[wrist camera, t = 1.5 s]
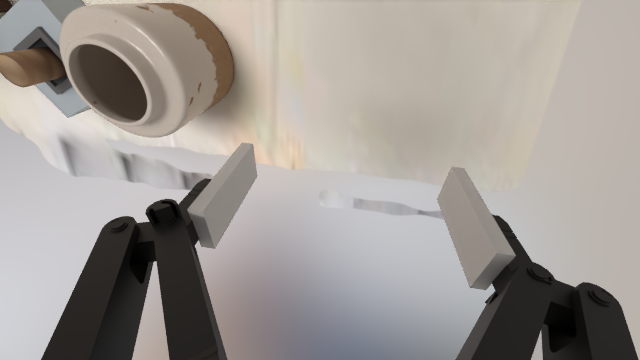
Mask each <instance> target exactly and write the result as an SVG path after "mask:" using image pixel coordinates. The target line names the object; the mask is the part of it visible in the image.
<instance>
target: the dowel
mask: <svg viewBox="0 0 640 360" xmlns="http://www.w3.org/2000/svg"><path fill="white" fill-rule="evenodd" d="M0 73H1V74H2V75H3V76H4V77H5V78H6V79H8V80H9V81H10V82H12V83H13V84H15V85H17V86H20V87H28V86H31V85H35V84H39V83H43V82H47V81H51V80H55V79H59V78H62V77H66V76H67V73H66V70H65V66H64V64H63V62H62V60H61V59H60V58H59V57H58V56H57V55H56V54H55V53H54V52H53V51H52V49H51V48H50V47H49V46H46V47H39V48H32V49H25V50H18V51H11V52H4V53H0Z"/></svg>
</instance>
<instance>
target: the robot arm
mask: <svg viewBox="0 0 640 360" xmlns="http://www.w3.org/2000/svg"><path fill="white" fill-rule="evenodd" d="M256 178H257V171H256V163H255V155H254V147H253V144H250V143H241V145H240V146H239V147H238V148H237V150H236V151H235V152H234V153H233V154H232V156H231V157H230V158H229V159H228V160H227V162H226V163H225V164H224V165H223V167H222V168H221V169H220V170H219V172H218V173H217V174H216V175H215V176H214V178H213V179H204V180H202V181H200V182H199V183H197V184H196V185H195V187H194V188H193V189H192V190H191V191H190V192H189V193H188V195H187V196H186V197H185V198H184V199H183V200H182V201H181V202H180V204H179V205H178V204H177V202H176V201H175V200H172V199H164V200H160V201H157V202H154V203H153V204H152V205H150V206H149V207H148V208H147V209H146V215H147V217H148V219H149V221H150V222H143V223H137V222H136V221H135V219H134V218H133V217H129V216H124V217H119V218H116V219H114V220H112V221H110V222H108V223H107V224H106V225H105V226H104V227H103V228H102V230H101V232H100V235H99V237H98V239H97V241H96V243H95V245H94V247H93V250H92V252H91V254H90V256H89V258H88V260H87V262H86V265H85V267H84V269H83V271H82V273H81V275H80V277H79V279H78V282H77V284H76V286H75V288H74V290H73V292H72V295H71V297H70V299H69V301H68V303H67V305H66V308H65V310H64V312H63V314H62V316H61V318H60V320H59V323H58V325H57V327H56V329H55V331H54V333H53V336H52V338H51V340H50V342H49V344H48V346H47V348H46V350H45V352H44V355H43V357H42V359H41V360H132V356H133V351H134V346H135V342H136V338H137V334H138V329H139V325H140V320H141V315H142V311H143V307H144V302H145V297H146V293H147V289H148V284H149V280H150V275H151V271H152V266H153V262H154V261H157V267H158V275H159V283H160V290H161V298H162V305H163V313H164V321H165V328H166V335H167V343H168V350H169V358H170V360H227V357H226V353H225V350H224V346H223V343H222V340H221V336H220V332H219V329H218V325H217V322H216V318H215V315H214V311H213V308H212V304H211V300H210V297H209V293H208V290H207V286H206V283H205V280H204V276H203V272H202V269H201V265H200V262H199V258H198V255H197V251H196V248H195V244H196V243H197V241H198V240H199V241H200V244H201V246H202V247H207V248H214V249H215V247H216V246H217V244H218V243H219V241H220V239H221V237H222V236H223V234H224V232H225V231H226V229H227V227H228V226H229V223H230V222H231V220H232V219H233V217H234V215H235V213H236V212H237V210H238V208H239V207H240V205H241V203H242V202H243V200H244V198H245V196H246V195H247V193H248V191H249V189H250V188H251V186H252V184H253V183H254V181H255V179H256ZM437 200H438V203H439V206H440V209H441V211H442V214H443V217H444V219H445V222H446V225H447V227H448V230H449V233H450V235H451V238H452V241H453V244H454V246H455V248H456V252H457V254H458V257H459V260H460V262H461V265H462V267H463V271H464V273H465V276H466V278H467V281H468V284H469V287H470V288H476V289H483V290H486V289H487V288H488V287H489V286H490V285H491V284H493V286H494V288H495V292H494V293H493V294H492V295H491V296H490V297H489V298H488V299H487V301H486V302H485V303H486V304H487V305H486V306H485V308H484V310H483V312H482V313H481V315H480V317H479V319H478V321H477V323H476V324H475V326H474V328H473V330H472V332H471V333H470V335H469V337H468V339H467V340H466V342H465V344H464V346H463V347H462V349H461V351H460V353H459V355H458V356H457V358H456V360H531V357H532V354H533V351H534V348H535V346H536V343H537V340H538V337H539V334H540V331H541V332H542V349H543V360H638V357H637V354H636V351H635V347H634V344H633V342H632V338H631V335H630V332H629V329H628V326H627V323H626V320H625V317H624V313H623V311H622V308H621V306H620V304H619V302H618V301H617V300H616V299H615V298H614V297H613V295H611V294H610V293H609V292H607V291H606V290H605V289H603V288H601V287H599V286H597V285H594V284H591V283H584V282H583V283H581V284H579V285H578V286H577V287H573V286H570V285H568V284H565V283H562V282H560V281H557V280H555V279H554V277H553V275H552V274H551V273H550V272H549V271H548V270H547V269H545V268H544V267H542V266H541V265H539V264H536V263H534V262H532V261H531V259H530V258H529V256H528V254H527V253H526V251H525V250H524V248H523V247H522V245H521V244H520V242H519V241H518V239H517V237H516V236H515V234H514V233H513V231H512V230H511V228H510V226H509V225H508V223H507V222H505V221H504V220H503V219H502V218H501V217H500V216H495V215H492V214H491V213H490V211H489V210H488V208H487V206H486V204H485V203H484V201H483V199H482V198H481V196H480V194H479V193H478V191H477V189H476V188H475V186H474V184H473V182H472V181H471V179H470V177H469V176H468V174H467V172H466V171H465V169H464V168H456V167H452V168H451V170H450V172H449V174H448V176H447V179H446V181H445V183H444V185H443V187H442V190H441V192H440V194H439V196H438V198H437Z"/></svg>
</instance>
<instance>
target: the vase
mask: <svg viewBox="0 0 640 360" xmlns="http://www.w3.org/2000/svg"><path fill="white" fill-rule="evenodd" d="M59 48H60V53H61V58H62V61H63V64H64V66H65V70H66V73H67V76H68V78H69V80H70V82H71V84H72V86H73V88H74V89H75V91H76V92H77V93H78V95H79V96H80V97H81V98H82V100H83V101H84V102H85V103H86V104H87V105H88V106H89V107H90V108H91V109H93V110H94V111H95V112H96V113H98V114H99V115H100V116H102V117H104V118H105V119H107V120H108V121H110V122H111V123H113V124H114V125H116V126H118V127H119V128H121V129H123V130H125V131H128V132H130V133H133V134H136V135H139V136H144V137H163V136H167V135H170V134H172V133H174V132H176V131H177V130H179V129H180V128H182V127H183V126H185V125H186V124H187V123H189V122H190V121H192V120H193V119H194V118H196V117H197V116H199V115H200V114H202V113H203V112H204V111H206V110H207V109H209V108H210V107H211V106H213V105H214V104H216V103H217V102H218V101H220V100H221V99H222V98H223V97H224V96H225V95H226V94H227V93H228V91H229V89H230V87H231V85H232V81H233V75H234V66H233V60H232V55H231V52H230V49H229V47H228V45H227V42H226V41H225V39H224V37H223V35H222V34H221V32H220V31H219V30H218V28H217V27H216V26H215V25H214V24H213V23H212V22H211V21H210V20H209V19H208V18H207V17H205V16H204V15H203V14H201V13H200V12H198V11H197V10H195V9H193V8H191V7H188V6H185V5H181V4H175V3H140V4H94V5H87V6H82V7H79V8H77V9H75V10H74V11H72V12H71V13H69V14H68V15H67V16H66V18H65V19H64V21H63V23H62V25H61V29H60V34H59Z"/></svg>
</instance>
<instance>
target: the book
mask: <svg viewBox="0 0 640 360" xmlns="http://www.w3.org/2000/svg"><path fill="white" fill-rule="evenodd" d="M11 8H12V5H11V4H10V2H9V1H8V0H0V12H8V11H9V10H10V9H11Z"/></svg>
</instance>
